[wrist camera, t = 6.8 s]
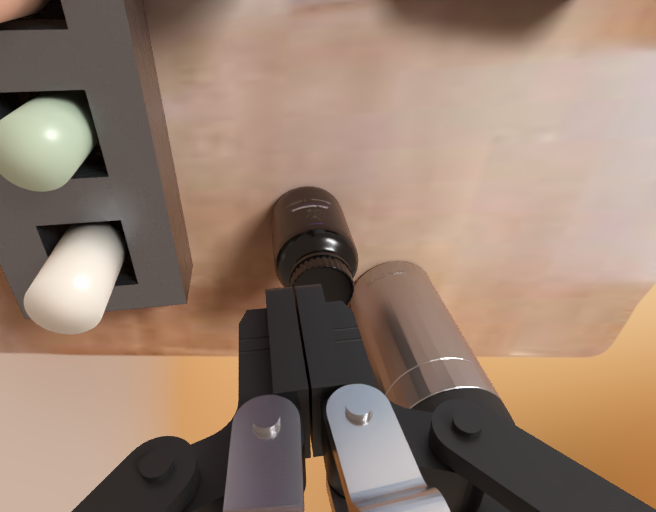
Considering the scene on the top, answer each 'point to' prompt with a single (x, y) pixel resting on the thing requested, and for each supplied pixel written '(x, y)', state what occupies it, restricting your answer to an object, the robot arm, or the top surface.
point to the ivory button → (77, 279)
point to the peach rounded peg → (19, 8)
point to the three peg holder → (97, 151)
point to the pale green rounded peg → (47, 140)
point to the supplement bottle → (314, 243)
